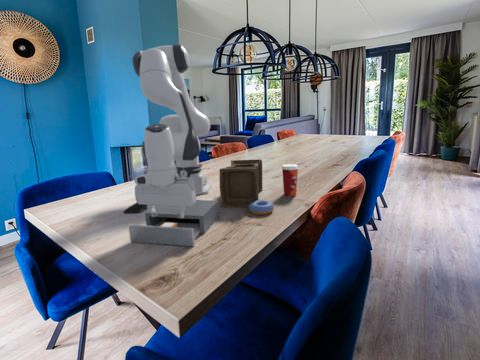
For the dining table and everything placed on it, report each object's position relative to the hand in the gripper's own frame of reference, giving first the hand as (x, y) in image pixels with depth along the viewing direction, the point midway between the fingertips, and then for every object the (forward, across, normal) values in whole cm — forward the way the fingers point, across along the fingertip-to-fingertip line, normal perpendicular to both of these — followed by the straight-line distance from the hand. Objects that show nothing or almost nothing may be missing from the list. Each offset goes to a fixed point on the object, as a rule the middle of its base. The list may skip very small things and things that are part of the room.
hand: (168, 217), depth 97 cm
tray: (+7, 0, -2) cm, 7 cm away
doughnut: (+8, -26, -27) cm, 39 cm away
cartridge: (+6, 0, +1) cm, 6 cm away
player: (+7, 0, -12) cm, 14 cm away
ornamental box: (+8, -15, -48) cm, 51 cm away
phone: (+8, +28, -26) cm, 39 cm away
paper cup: (+8, -36, -52) cm, 64 cm away
